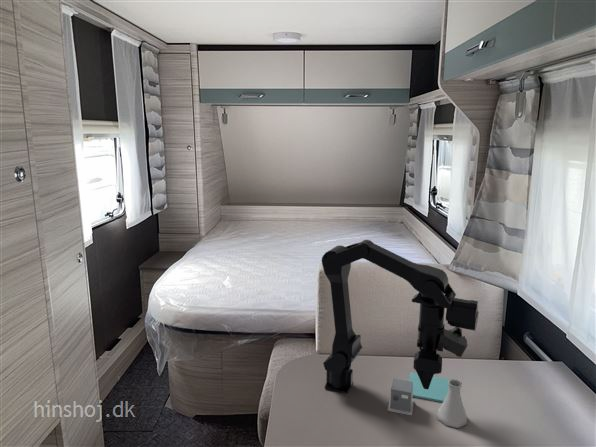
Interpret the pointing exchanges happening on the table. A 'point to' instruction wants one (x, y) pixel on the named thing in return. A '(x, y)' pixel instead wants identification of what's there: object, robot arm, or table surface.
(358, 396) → the table surface
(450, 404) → the flask
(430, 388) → the mat
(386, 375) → the table surface
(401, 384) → the box
